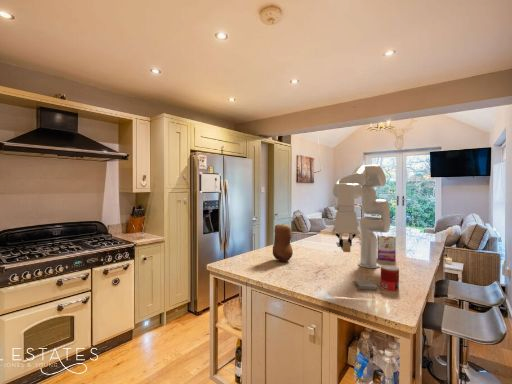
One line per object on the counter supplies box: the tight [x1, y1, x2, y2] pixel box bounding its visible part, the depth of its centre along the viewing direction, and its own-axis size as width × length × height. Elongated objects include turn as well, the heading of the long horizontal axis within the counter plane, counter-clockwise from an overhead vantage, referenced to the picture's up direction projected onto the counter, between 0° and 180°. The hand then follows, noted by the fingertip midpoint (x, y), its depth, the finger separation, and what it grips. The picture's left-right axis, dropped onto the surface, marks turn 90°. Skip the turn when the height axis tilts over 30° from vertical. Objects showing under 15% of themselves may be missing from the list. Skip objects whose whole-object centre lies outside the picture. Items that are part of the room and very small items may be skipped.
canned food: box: [380, 264, 400, 292], centre depth 131 cm, size 8×8×11 cm
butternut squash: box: [272, 223, 294, 263], centre depth 181 cm, size 14×13×25 cm
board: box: [351, 280, 383, 294], centre depth 132 cm, size 15×11×1 cm
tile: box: [355, 278, 378, 290], centre depth 133 cm, size 2×8×9 cm
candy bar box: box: [376, 234, 397, 262], centre depth 186 cm, size 11×5×16 cm, turn 73°
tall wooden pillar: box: [336, 238, 352, 253], centre depth 131 cm, size 14×6×4 cm, turn 171°
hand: (345, 247), depth 129 cm, fingers closed on tall wooden pillar, 2 cm apart
